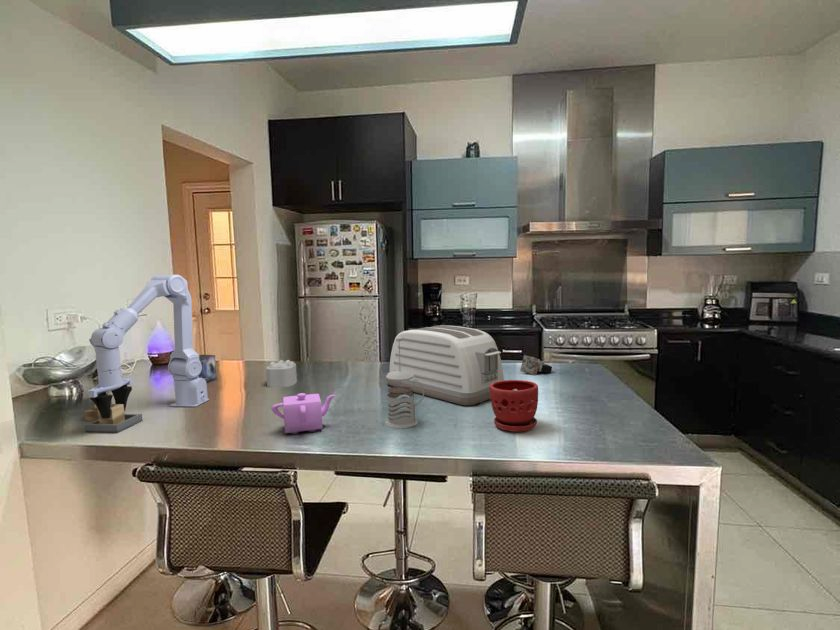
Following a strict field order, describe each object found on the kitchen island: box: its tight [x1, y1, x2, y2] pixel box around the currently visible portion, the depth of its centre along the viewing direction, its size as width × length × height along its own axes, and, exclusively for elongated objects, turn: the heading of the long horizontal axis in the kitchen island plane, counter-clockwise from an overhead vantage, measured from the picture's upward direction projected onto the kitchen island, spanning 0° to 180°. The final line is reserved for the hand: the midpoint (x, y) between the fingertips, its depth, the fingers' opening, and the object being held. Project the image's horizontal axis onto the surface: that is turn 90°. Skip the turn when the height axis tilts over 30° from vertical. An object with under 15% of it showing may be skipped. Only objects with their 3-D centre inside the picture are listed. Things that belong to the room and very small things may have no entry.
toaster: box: [386, 324, 506, 407], centre depth 167 cm, size 23×45×22 cm, turn 43°
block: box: [98, 403, 125, 424], centre depth 137 cm, size 4×4×6 cm
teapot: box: [270, 392, 337, 435], centre depth 130 cm, size 18×14×10 cm
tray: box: [84, 413, 144, 434], centre depth 137 cm, size 10×10×2 cm
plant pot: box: [489, 379, 539, 433], centre depth 128 cm, size 13×13×12 cm
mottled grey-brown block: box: [519, 354, 553, 376], centre depth 190 cm, size 7×11×10 cm
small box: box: [198, 354, 218, 384], centre depth 187 cm, size 11×6×10 cm, turn 168°
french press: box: [384, 337, 425, 429], centre depth 133 cm, size 10×12×25 cm
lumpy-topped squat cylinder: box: [265, 359, 298, 388], centre depth 183 cm, size 10×13×9 cm
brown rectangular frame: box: [84, 406, 99, 422], centre depth 146 cm, size 7×7×3 cm
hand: (113, 414), depth 136 cm, fingers open, 5 cm apart
